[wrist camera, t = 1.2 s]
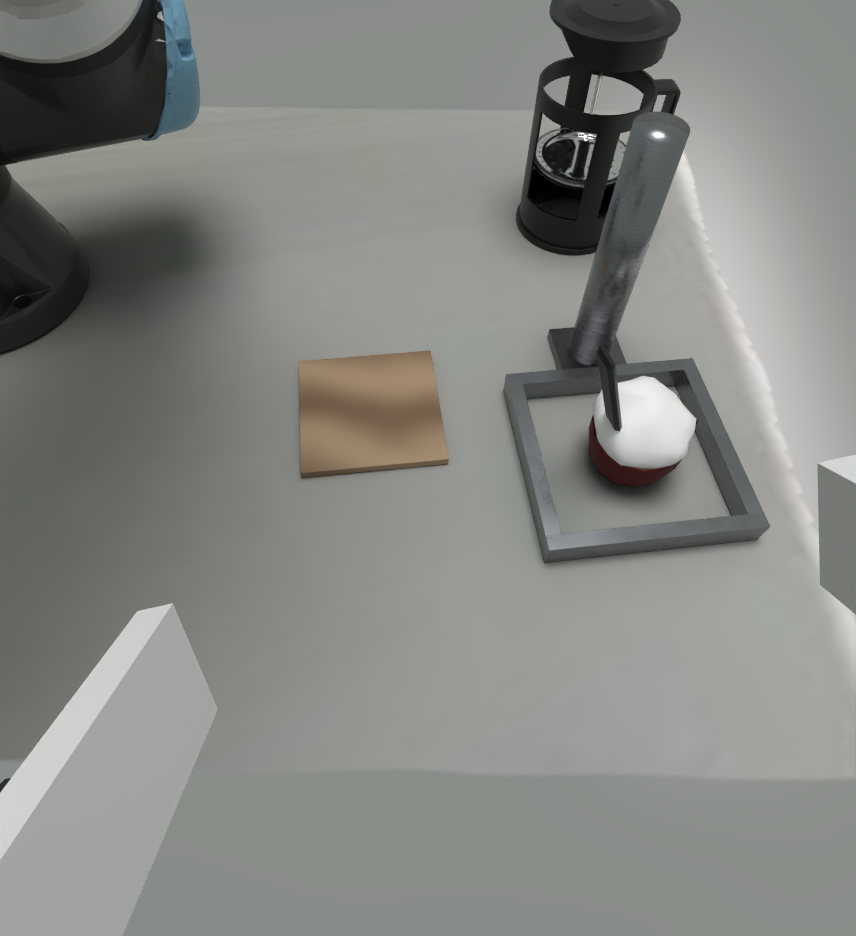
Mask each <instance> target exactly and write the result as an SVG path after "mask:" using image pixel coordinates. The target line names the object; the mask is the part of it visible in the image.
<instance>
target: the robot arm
mask: <svg viewBox="0 0 856 936" xmlns="http://www.w3.org/2000/svg"><path fill="white" fill-rule="evenodd" d="M199 107H200V88H199V77H198V69H197V64H196V58H195V54H194V51H193V48H192V46H191V34H190V27H189V21H188V17H187V12H186V8H185V4H184V0H0V353H1V352H4V351H7V350H10V349H13V348H16V347H18V346H21V345H23V344H25V343H28V342H30V341H32V340H34V339H36V338H37V337H39V336H41V335H43V334H44V333H46V332H47V331H49V330H50V329H52V328H53V327H55V326H56V325H57V324H58V323H60V322H61V321H62V320H63V319H64V318H65V317H66V316H67V315H68V314H69V313H70V312H71V311H72V310H73V309H74V308H75V306H76V305H77V304H78V302H79V301H80V299H81V298H82V296H83V294H84V292H85V289H86V286H87V283H88V276H89V271H88V265H87V262H86V259H85V257H84V256H83V254H82V252H81V250H80V248H79V247H78V245H77V243H76V241H75V239H74V238H73V236H72V235H71V234H70V232H69V231H68V230H67V229H66V228H65V227H64V226H63V225H62V224H61V223H59V222H58V221H57V220H56V219H55V218H54V217H53V216H52V215H51V214H50V213H49V212H48V211H47V210H46V209H44V208H43V207H42V206H41V205H40V204H39V203H38V202H37V201H36V200H35V199H34V198H33V197H32V196H31V195H30V194H29V193H28V192H26V191H25V190H24V189H23V188H22V187H21V186H20V185H19V184H18V183H17V182H16V181H15V180H14V179H13V178H12V176H11V174H10V173H9V171H8V170H7V168H6V166H5V165H7V164H12V163H17V162H22V161H27V160H33V159H38V158H43V157H48V156H54V155H59V154H64V153H70V152H75V151H80V150H85V149H91V148H96V147H101V146H106V145H112V144H117V143H122V142H127V141H133V140H138V139H142V140H145V141H149V140H155V139H157V138H158V137H159V136H160V135H163V134H166V133H170V132H174V131H178V130H182V129H185V128H187V127H189V126H190V125H191V124H192V123H193V122H194V121H195V119H196V117H197V115H198V112H199ZM818 506H819V508H818V509H819V555H820V585H821V586H822V587H823V588H825V589H826V590H827V591H828V592H830V593H831V594H832V595H833V596H834V597H836V598H837V599H838V600H839V601H840V602H842V603H843V604H844V605H845V606H846V607H848V608H849V609H850V610H851V611H852V612H854V613H855V614H856V455H853V456H848V457H843V458H838V459H834V460H829V461H824V462H820V463H818ZM217 710H218V709H217V706H216V704H215V702H214V699H213V697H212V695H211V692H210V690H209V687H208V685H207V683H206V680H205V678H204V676H203V673H202V671H201V669H200V666H199V664H198V662H197V659H196V657H195V654H194V652H193V650H192V647H191V645H190V643H189V640H188V638H187V636H186V633H185V631H184V628H183V626H182V624H181V621H180V619H179V617H178V614H177V612H176V610H175V607H174V605H173V603H172V604H168V605H163V606H159V607H154V608H149V609H145V610H140V611H137V612H136V614H135V615H134V616H133V618H132V619H131V620H130V622H129V623H128V624H127V626H126V627H125V628H124V630H123V631H122V632H121V634H120V635H119V636H118V638H117V639H116V640H115V641H114V643H113V644H112V645H111V647H110V648H109V649H108V651H107V652H106V653H105V655H104V656H103V657H102V659H101V660H100V661H99V663H98V664H97V665H96V667H95V668H94V669H93V671H92V672H91V673H90V675H89V676H88V677H87V679H86V680H85V681H84V683H83V684H82V685H81V687H80V688H79V689H78V690H77V692H76V693H75V694H74V696H73V697H72V698H71V700H70V701H69V702H68V704H67V705H66V706H65V708H64V709H63V710H62V712H61V713H60V714H59V716H58V717H57V718H56V720H55V721H54V722H53V724H52V725H51V726H50V728H49V729H48V730H47V732H46V733H45V734H44V735H43V737H42V738H41V739H40V741H39V742H38V743H37V745H36V746H35V747H34V749H33V750H32V751H31V753H30V754H29V755H28V757H27V758H26V759H25V761H24V762H23V763H22V765H21V766H20V767H19V769H18V770H17V771H16V773H15V774H14V775H13V777H12V778H9V779H5V780H4V781H3V782H2V783H1V784H0V936H123V933H124V931H125V929H126V926H127V924H128V922H129V919H130V917H131V914H132V912H133V910H134V907H135V905H136V903H137V900H138V898H139V895H140V893H141V891H142V888H143V886H144V883H145V881H146V879H147V876H148V874H149V872H150V869H151V867H152V865H153V862H154V860H155V858H156V855H157V853H158V850H159V848H160V846H161V843H162V841H163V839H164V836H165V834H166V831H167V829H168V827H169V824H170V822H171V820H172V817H173V815H174V812H175V810H176V808H177V805H178V803H179V801H180V798H181V795H182V793H183V791H184V788H185V786H186V784H187V781H188V779H189V777H190V774H191V772H192V770H193V767H194V765H195V763H196V760H197V758H198V756H199V753H200V751H201V748H202V746H203V744H204V741H205V739H206V737H207V734H208V732H209V729H210V727H211V725H212V722H213V720H214V718H215V715H216V713H217Z"/></svg>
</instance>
